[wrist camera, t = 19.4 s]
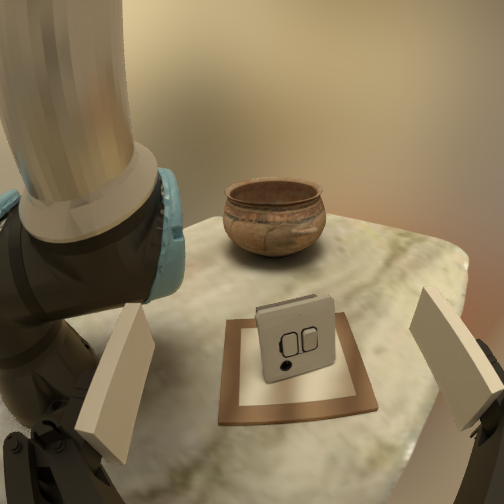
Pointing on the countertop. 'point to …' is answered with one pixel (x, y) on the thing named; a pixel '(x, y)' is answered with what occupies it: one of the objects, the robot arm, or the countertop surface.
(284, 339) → the electrical switch
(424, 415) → the countertop surface
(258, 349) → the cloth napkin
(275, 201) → the cooking pot
